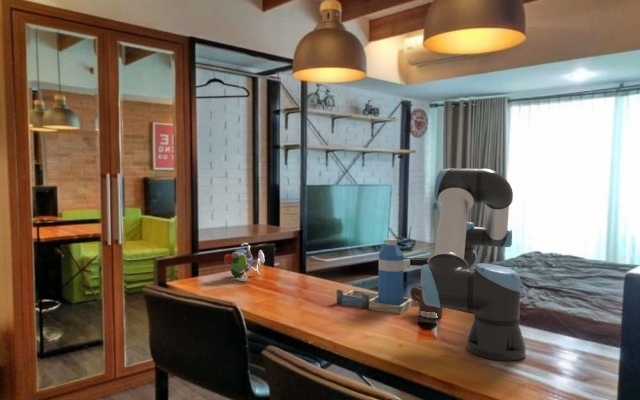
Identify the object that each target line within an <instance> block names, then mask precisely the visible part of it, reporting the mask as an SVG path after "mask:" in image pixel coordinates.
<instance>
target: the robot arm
mask: <svg viewBox="0 0 640 400" xmlns="http://www.w3.org/2000/svg"><path fill="white" fill-rule="evenodd" d="M433 191H434V200H435V201H436V202H437V203H438V204H439V206H440V207H441V208H440V213H439V214H440V215H439V221H438V228H437V234H436V235H437V236H436V242H435V250H434V255H432V256H431V257H427V256H426V257H404V268H410V267H411V266H413V267H414V266H417V267H418V266H419V267H420V266H421V267H420V283H421V284H420V285H421V286H420V288H422V297H423V301H424V303H425V304H426V305H428V306H435V307H438V308H440V307H443V308H445V309H454V310H463V311H472V312H474V314H473V317H474V318H473V322H472V325H471V328H470V331H469V332H468V336H467V339H466V349H467V350H468V351H469V352H470V353H472V354H473V355H476V356H478V357H482V358H484V359H488V360H494V361H502V362H504V361H505V362H511V361H517V360H522V359H524V358H525V357H526V351H527V350H526V348H527V347H526V344H525V340H524V337H523V334H522V333H523V332H522V329H521V327H520V309H521V300H520V299H521V292H522V288H521V276H520V274H519V273H518V272H517V271H516V270H514V269H512V268H509V267H506V266H502V265H499V264H494V263H493V264H492V263H481V262H480V263H479V256H478V253H477V252H476V250H475V249H474V246H479V247H495V248H496V247H498V248H510V247H512V244H513V243H512V242H513V230H512V229H510V228H508V227H509V226H508V225H509V211H510V205H511V204H512V203H513V198H514V193H513V189H512V186H511V184H510V183H509V181H508V180H507V179H506V178H505V177H504V176H503V175H502V174H500V173H499V172H497V171H495V170H493V169H489V168H464V167H463V168H457V167H456V168H454V167H449V168H443V169H442V168H441V170H439V171H438V173H437V176H436V178H435V183H434V189H433ZM482 203H483V204H485V207H486V227H483V226H482V227H481V226H475V223H474V222H472V221H468V217H469V211H470V209H472V208H473V206H474V204H482ZM473 267H474V268H473ZM443 308H442V309H443Z"/></svg>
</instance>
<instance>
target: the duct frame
mask: <svg viewBox="0 0 640 400" xmlns="http://www.w3.org/2000/svg"><path fill="white" fill-rule="evenodd" d="M336 304H337V305H344V306H351V307H356V308H361V309H365V310H366V309H369V310H373V311H380V312H384V313H385V312H386V313H391V314H398V315H401V314H402V313H403V314H404V313H405V312H406V311H408V310H409V309H410V308H412V307H413V306H414V299H413V298H412V297H411V298H410V297H405V296H403V304H401V305H400V306H396V305H390V304H384V303H378V292H371V291H364V290H358V289H357V290H356V289H352V290H349V291H348V292H345V293H344V289H340V288H339V289H338V288H337V289H336Z"/></svg>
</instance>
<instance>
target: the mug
mask: <svg viewBox="0 0 640 400" xmlns="http://www.w3.org/2000/svg"><path fill="white" fill-rule="evenodd" d="M409 292H410V297H411V298H412V299H413V301H415V302H418V304H419V312H420V311H425V312H435V313H437V316H438V318H439V319H441V318H442V316H443V307H440V308H438V307H435V306H428V305H426V304H425V303H424V301H423V297H422V287H419V286H413V287H411V289H410V291H409ZM416 292H417V293H418V294H419V296H418V295H417V294H416Z"/></svg>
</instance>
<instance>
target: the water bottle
mask: <svg viewBox="0 0 640 400" xmlns="http://www.w3.org/2000/svg"><path fill="white" fill-rule="evenodd" d="M404 260H405V256H404V254H403V252H402V251H401V249H400V247H399V246H398V239H397V238H389V237H388V238H385V244H384V246H383V247H382V249H381V250H380V251H379V252H378V275H377V277H378V280H377V281H378V282H377V283H378V284H377V285H378V286H377V289H378V290H377V293H378V303H384V304H390V305H396V306H400V305H401V304H403V297H404V268H405V267H404Z"/></svg>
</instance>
